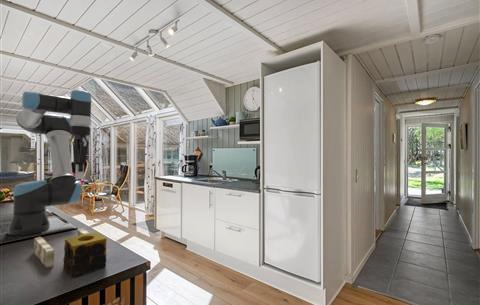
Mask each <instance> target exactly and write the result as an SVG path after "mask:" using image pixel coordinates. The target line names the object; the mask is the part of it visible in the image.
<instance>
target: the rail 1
mask: <svg viewBox="0 0 480 305" xmlns="http://www.w3.org/2000/svg"><path fill="white" fill-rule="evenodd" d="M33 246H34V248H33V253H34V254H35V255H36V257H37V258H38V260H40V262H41V263H42V265H43V266H44V267H45V269H49V268H52V267H54V265H55V249H54V248H53V247H52V246H51V245H50V244H49V243H48V242H47V241H46V240H45V239H44V238H43V237H42V236H38V237H34V243H33Z"/></svg>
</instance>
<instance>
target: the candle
mask: <svg viewBox="0 0 480 305" xmlns="http://www.w3.org/2000/svg"><path fill="white" fill-rule="evenodd" d="M107 240H108V238H107V237H106V236H104V235H102V234H101V233H99V232H97V231H93V232H89V234H83V235H79V236H77V235H75V236H71V237H67V238H66V237H65V238H64V246H63V247H64V248H63V250H64V255H63V267H62V268H63V269H64V271H65V272H66V273H67V275H70V276H69V277H70V278H71V279H74V278H77V277H79V276H83V275H86V274H89V273H92V272H96V271H97V270H100V269H103V268H106V266H107Z"/></svg>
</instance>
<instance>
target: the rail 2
mask: <svg viewBox="0 0 480 305" xmlns="http://www.w3.org/2000/svg"><path fill="white" fill-rule="evenodd" d="M89 233H90V232H89V231H87V230H86V229H84V228H77V229H76V236H79V235H83V234H89Z"/></svg>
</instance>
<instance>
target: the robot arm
mask: <svg viewBox="0 0 480 305" xmlns="http://www.w3.org/2000/svg"><path fill="white" fill-rule="evenodd" d="M21 104H22V108H23V109H22V110H21V111H20V112H18V114H17V115H16V123H17V125H18V127H20V128H21V129H22V130H24V131H26V132H29V133H32V134H35V135H36V134H37V135H38V134H39V135H45V139H47V140H48V141H49V142H48V143H49V149H50V158H51V159H50V161H51V162H50V163H51V170H52V178H50V179H49V182H47V181H46V180H45V179H42V180H32V181H27V182H21V183H17V184H16V185H15V186H14V188H13V194H12V196H13V210H12V211H13V212H12V213H13V214H12V218H11V220H10V223H9V225H8V228H7V234H8V235H9V236H25V235H33V234H37V233H40V232H44V231H46V230H48V229H50V226H51V225H50V224H51V223H50V221H49V218H48V215H47V212H46V207H53V206H54V207H55V206H61V205H70V204H75V203H78V202H79V201H80V198H81V196H82V192H83V191H82V190H83V189H82V187H83V186H82V182H81V181H80V180H84V178H85V177H84V174H85V173H84V172H85V164H86V163H87V156H88V146H89V143H90V142H89V141H88V140H87V136H90V135H91V130H92V128H91V126H92V94H91V93H90V92H89V91H86V90H80V89H73V90H71V92H70V97H67V96H60V95H54V94H49V93H48V94H47V93H41V92H36V91H24V92H23V93H22V97H21ZM50 113H56V114H50ZM62 114H63V115H62ZM65 114H67V115H65ZM68 115H70V116H68ZM72 135H73V136H74V139H73V141H72V142H71V143H72V148H73V149H72V150H73V151H72V152H73V154H72V155H73V163H74V164H75V175H74V174H73V166H72V160H71V152H70V151H71V150H70V145H69V140H70V138H71V137H72Z"/></svg>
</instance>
